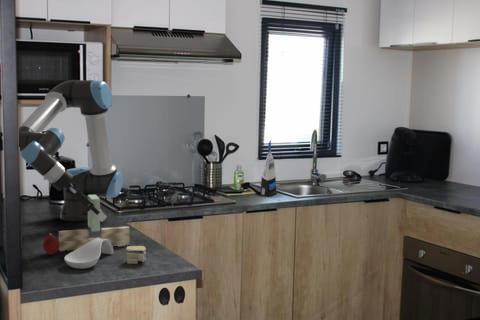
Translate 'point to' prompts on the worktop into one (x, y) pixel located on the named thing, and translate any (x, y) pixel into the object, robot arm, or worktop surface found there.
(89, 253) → the spoon rest
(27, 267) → the worktop surface
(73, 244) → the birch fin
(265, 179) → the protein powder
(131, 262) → the pale yellow layered block
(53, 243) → the onion
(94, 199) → the notched piece
